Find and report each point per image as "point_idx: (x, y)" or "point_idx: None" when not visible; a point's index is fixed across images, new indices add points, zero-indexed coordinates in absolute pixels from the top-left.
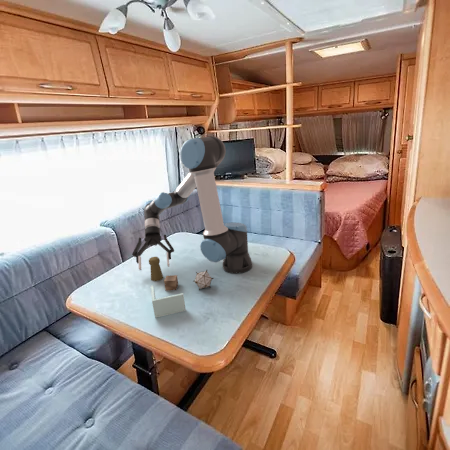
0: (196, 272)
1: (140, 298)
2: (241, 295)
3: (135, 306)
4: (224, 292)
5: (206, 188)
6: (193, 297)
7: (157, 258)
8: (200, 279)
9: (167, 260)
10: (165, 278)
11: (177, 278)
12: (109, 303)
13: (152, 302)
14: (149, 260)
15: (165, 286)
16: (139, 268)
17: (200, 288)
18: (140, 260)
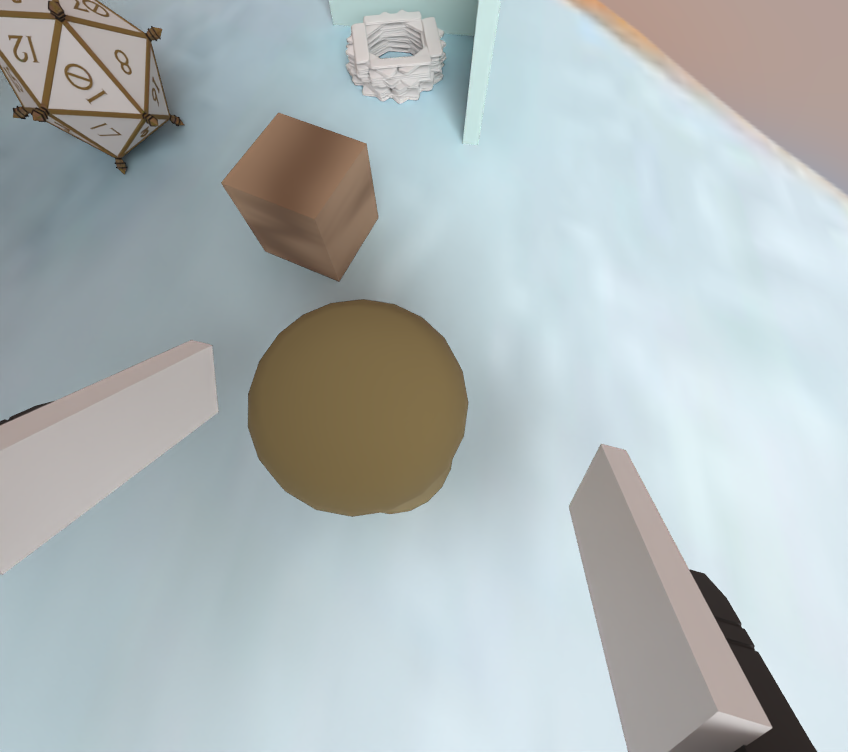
0: (57, 3)
1: (557, 208)
2: None
3: (589, 145)
4: None
5: None
6: (250, 84)
7: (282, 339)
8: (103, 7)
9: (148, 372)
10: (340, 176)
11: (240, 206)
12: (774, 247)
13: None
14: (453, 364)
15: (369, 186)
16: (612, 448)
17: (166, 110)
18: (634, 610)
